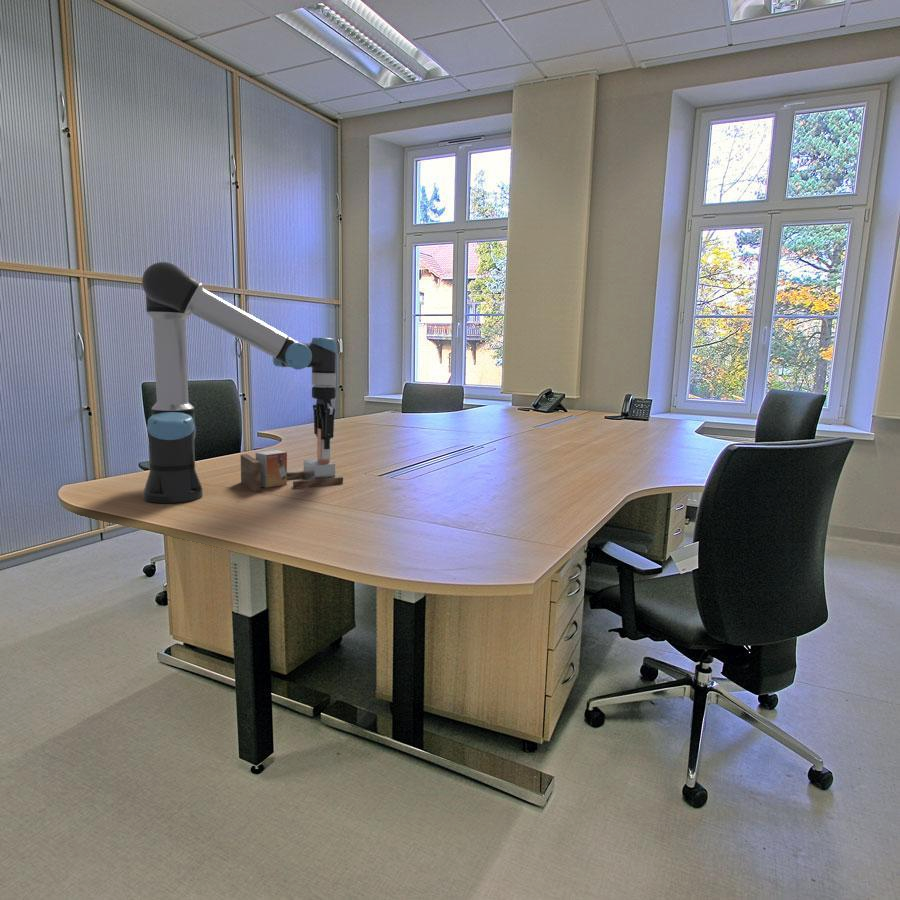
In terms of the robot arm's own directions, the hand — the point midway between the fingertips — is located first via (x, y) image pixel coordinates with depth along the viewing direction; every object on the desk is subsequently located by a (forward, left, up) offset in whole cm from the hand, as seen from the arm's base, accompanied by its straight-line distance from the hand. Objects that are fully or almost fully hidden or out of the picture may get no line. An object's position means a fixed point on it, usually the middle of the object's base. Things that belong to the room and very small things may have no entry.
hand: (323, 457), depth 198 cm
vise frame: (-10, 0, -8) cm, 13 cm away
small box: (-17, 0, -8) cm, 19 cm away
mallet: (-2, 0, -8) cm, 8 cm away
